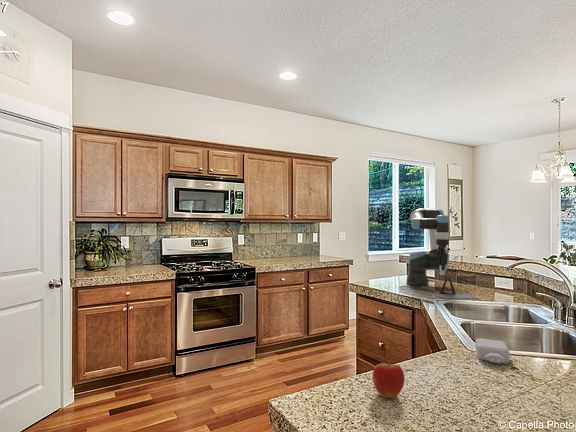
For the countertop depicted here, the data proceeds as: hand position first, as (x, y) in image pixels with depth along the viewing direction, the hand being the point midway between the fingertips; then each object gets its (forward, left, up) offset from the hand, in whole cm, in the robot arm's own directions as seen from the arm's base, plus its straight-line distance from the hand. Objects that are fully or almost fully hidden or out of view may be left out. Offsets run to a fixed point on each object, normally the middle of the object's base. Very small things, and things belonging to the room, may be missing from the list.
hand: (442, 274), depth 241 cm
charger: (+115, -38, -11) cm, 122 cm away
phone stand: (+8, 0, -11) cm, 13 cm away
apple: (+139, -82, -11) cm, 162 cm away
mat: (+18, 0, -11) cm, 21 cm away
